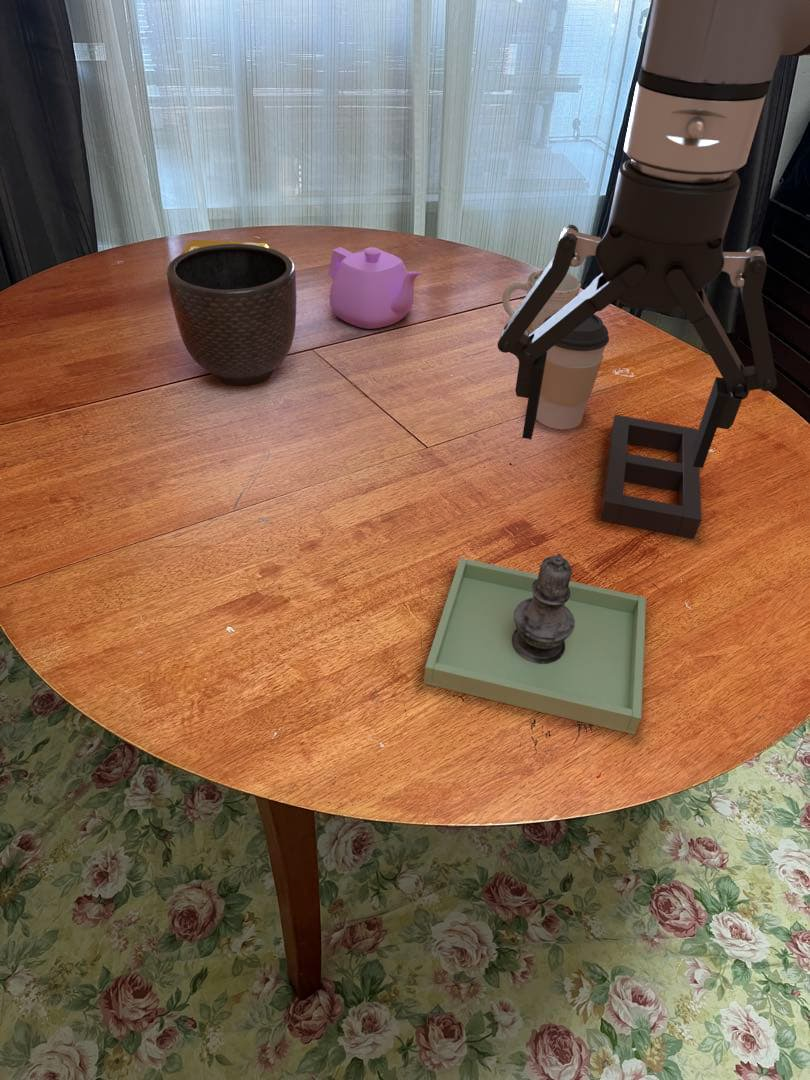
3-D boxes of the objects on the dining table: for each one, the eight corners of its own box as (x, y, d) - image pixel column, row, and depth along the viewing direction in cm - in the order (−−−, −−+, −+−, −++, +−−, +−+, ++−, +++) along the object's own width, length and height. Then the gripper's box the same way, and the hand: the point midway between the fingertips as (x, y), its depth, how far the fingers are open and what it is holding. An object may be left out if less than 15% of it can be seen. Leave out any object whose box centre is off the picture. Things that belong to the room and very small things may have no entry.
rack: (691, 447, 104) (697, 428, 102) (693, 539, 89) (701, 519, 87) (610, 432, 106) (614, 414, 104) (599, 520, 91) (604, 501, 89)
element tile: (192, 261, 144) (188, 236, 141) (271, 265, 145) (269, 239, 142) (174, 294, 133) (169, 267, 130) (259, 298, 133) (257, 271, 130)
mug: (558, 355, 122) (570, 295, 116) (487, 335, 126) (494, 276, 120) (576, 335, 128) (588, 277, 121) (507, 317, 132) (515, 260, 125)
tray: (640, 613, 80) (646, 596, 78) (634, 735, 68) (641, 718, 67) (458, 574, 83) (460, 557, 81) (423, 683, 72) (424, 666, 70)
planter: (289, 405, 107) (282, 296, 97) (169, 396, 108) (148, 287, 97) (309, 348, 120) (304, 247, 110) (201, 340, 121) (186, 239, 110)
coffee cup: (573, 396, 113) (594, 299, 103) (600, 429, 106) (625, 329, 96) (516, 402, 111) (532, 304, 101) (540, 437, 104) (559, 335, 94)
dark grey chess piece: (542, 676, 72) (565, 586, 64) (496, 640, 75) (513, 550, 67) (580, 645, 75) (606, 556, 67) (534, 612, 78) (554, 523, 71)
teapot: (391, 348, 122) (393, 280, 114) (305, 308, 131) (302, 244, 124) (443, 322, 129) (449, 258, 122) (359, 287, 139) (359, 225, 132)
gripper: (477, 160, 48) (453, 443, 62) (907, 205, 43) (776, 498, 57) (496, 131, 53) (470, 397, 67) (880, 168, 49) (766, 444, 63)
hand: (611, 444), depth 62 cm, fingers open, 13 cm apart
